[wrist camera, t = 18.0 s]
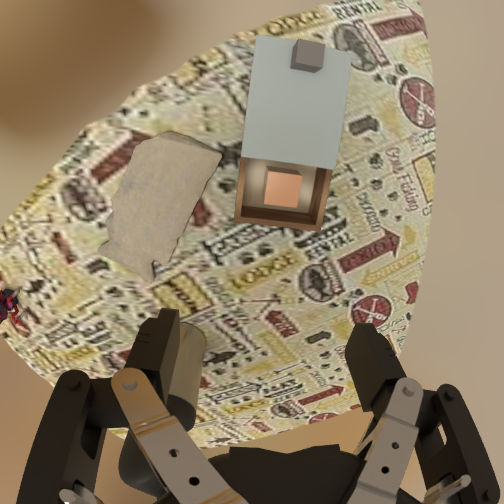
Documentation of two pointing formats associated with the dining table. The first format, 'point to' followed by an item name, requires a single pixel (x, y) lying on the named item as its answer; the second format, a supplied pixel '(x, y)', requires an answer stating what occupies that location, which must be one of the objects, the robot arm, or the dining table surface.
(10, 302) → the figurine
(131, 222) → the stone tool
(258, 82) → the lid
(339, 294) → the dining table surface
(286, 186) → the cube
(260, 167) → the brown wooden box
